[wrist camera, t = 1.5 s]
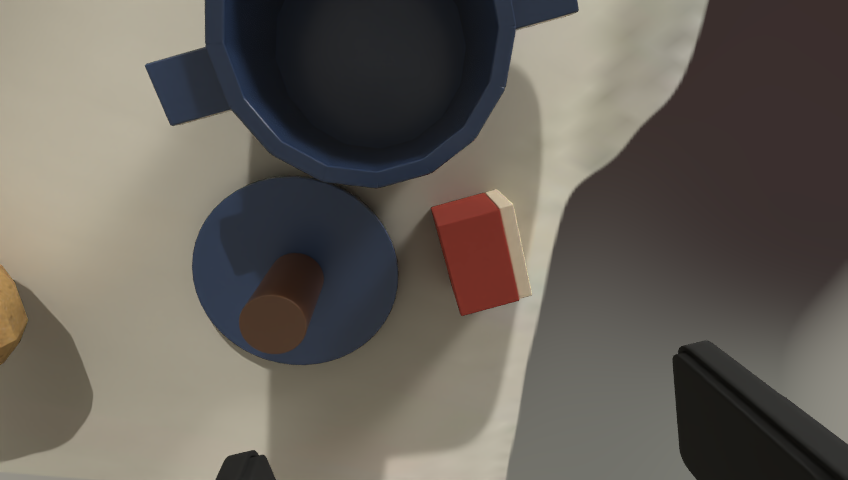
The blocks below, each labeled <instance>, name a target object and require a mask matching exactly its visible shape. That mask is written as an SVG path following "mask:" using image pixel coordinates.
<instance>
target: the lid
mask: <svg viewBox="0 0 848 480" xmlns="http://www.w3.org/2000/svg"><path fill="white" fill-rule="evenodd" d="M192 270H193V280H194V285H195V289H196V293H197V295H198V298H199V300H200V303H201V305H202V307H203V309H204V311H205V312H206V314H207V316H208V317H209V318H210V320H211V321H212V323H213V324H214V325H215V326H216V327H217V328H218V329H219V331H220V332H221V333H222V334H223V335H224V336H226V337H227V338H228V339H229V340H230V341H232V342H233V343H234V344H236V345H237V346H239V347H240V348H242V349H243V350H245V351H247V352H249V353H251V354H253V355H255V356H258V357H261V358H263V359H266V360H270V361H274V362H278V363H284V364H291V365H309V364H319V363H323V362H328V361H332V360H335V359H338V358H341V357H343V356H345V355H347V354H349V353H351V352H353V351H355V350H356V349H358V348H359V347H361V346H362V345H364V344H365V343H366V342H367V341H368V340H370V339H371V338H372V337H373V336H374V335H375V334H376V332H377V331H378V330H379V329H380V328H381V326H382V325H383V323H384V322H385V321H386V319H387V317H388V315H389V313H390V311H391V309H392V306H393V303H394V301H395V297H396V292H397V287H398V266H397V258H396V254H395V250H394V247H393V244H392V241H391V239H390V236H389V235H388V233H387V231H386V229H385V227H384V225H383V224H382V223H381V221H380V220H379V219H378V217H377V216H376V215H375V214H374V213H373V212H372V210H371V209H370V208H369V207H368V206H367V205H366V204H364V203H363V202H362V201H361V200H359V199H358V198H357V197H356V196H354V195H352V194H351V193H349V192H347V191H346V190H344V189H342V188H340V187H338V186H336V185H333V184H331V183H327V182H323V181H320V180H318V179H313V178H308V177H299V176H283V177H273V178H268V179H264V180H260V181H257V182H254V183H251V184H249V185H247V186H245V187H243V188H241V189H239V190H237V191H235V192H234V193H233V194H231V195H230V196H228V197H227V198H225V199H224V200H223V201H222V202H221V203H220V204H219V205H218V206H217V207H216V208H215V209H214V210H213V211H212V212H211V214H210V215H209V216H208V218H207V219H206V220H205V222H204V224H203V226H202V228H201V229H200V232H199V234H198V237H197V240H196V242H195V247H194V252H193V262H192Z"/></svg>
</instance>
